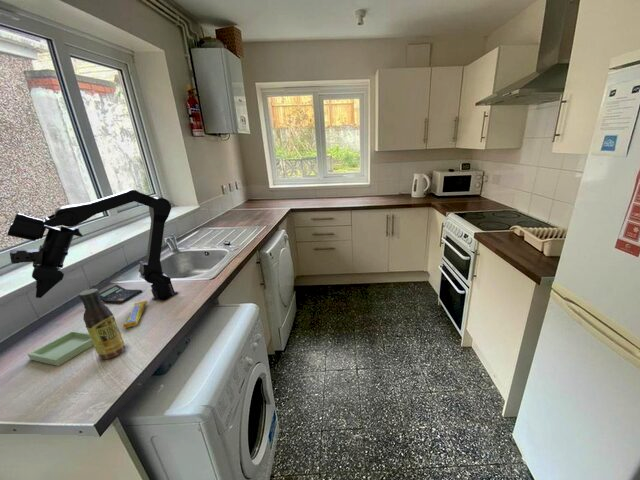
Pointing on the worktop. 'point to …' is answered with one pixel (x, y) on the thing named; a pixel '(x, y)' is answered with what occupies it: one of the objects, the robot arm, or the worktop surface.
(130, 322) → the candy bar
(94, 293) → the sauce bottle
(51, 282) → the robot arm
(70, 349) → the tray
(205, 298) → the worktop surface
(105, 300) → the calculator
